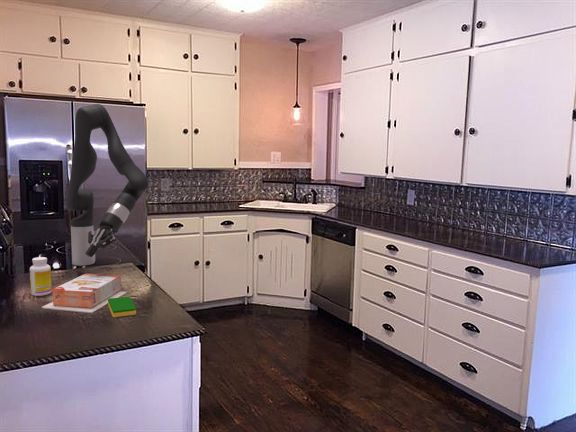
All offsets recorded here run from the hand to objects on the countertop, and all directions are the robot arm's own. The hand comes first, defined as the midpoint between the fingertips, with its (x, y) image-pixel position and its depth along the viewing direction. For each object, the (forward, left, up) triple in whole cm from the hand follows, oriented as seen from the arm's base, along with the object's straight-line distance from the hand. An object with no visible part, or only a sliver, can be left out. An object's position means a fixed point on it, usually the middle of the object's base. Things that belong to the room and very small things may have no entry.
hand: (88, 255), depth 172 cm
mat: (+7, +4, -14) cm, 16 cm away
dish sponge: (+12, +20, -15) cm, 27 cm away
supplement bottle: (+5, -16, -14) cm, 22 cm away
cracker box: (-5, +3, -10) cm, 12 cm away
